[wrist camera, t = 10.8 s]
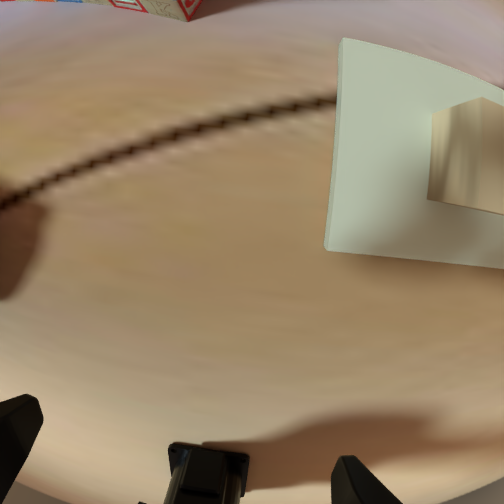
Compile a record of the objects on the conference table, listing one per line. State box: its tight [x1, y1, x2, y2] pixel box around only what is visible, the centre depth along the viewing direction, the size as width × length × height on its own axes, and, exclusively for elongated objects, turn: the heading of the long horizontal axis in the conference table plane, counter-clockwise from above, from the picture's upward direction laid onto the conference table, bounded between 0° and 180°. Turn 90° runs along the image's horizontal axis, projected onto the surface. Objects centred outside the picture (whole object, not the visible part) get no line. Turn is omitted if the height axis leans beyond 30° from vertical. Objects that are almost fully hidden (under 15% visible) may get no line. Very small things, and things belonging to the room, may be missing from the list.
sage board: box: [324, 37, 504, 269], centre depth 16 cm, size 12×16×1 cm
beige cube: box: [427, 97, 504, 216], centre depth 13 cm, size 5×5×5 cm
